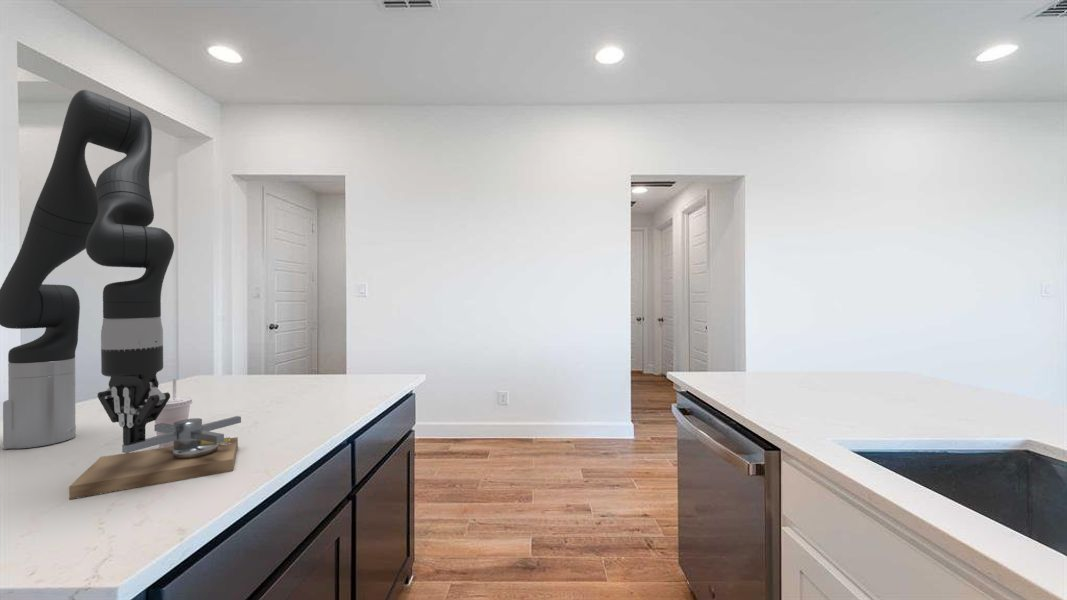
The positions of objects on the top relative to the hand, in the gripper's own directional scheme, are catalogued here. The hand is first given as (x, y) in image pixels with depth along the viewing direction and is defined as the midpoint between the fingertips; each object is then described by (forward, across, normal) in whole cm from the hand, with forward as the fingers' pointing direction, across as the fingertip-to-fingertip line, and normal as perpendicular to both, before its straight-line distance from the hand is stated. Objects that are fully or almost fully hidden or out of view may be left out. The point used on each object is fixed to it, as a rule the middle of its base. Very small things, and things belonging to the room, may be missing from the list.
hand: (134, 447), depth 71 cm
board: (+5, -1, -4) cm, 7 cm away
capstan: (+3, -3, -6) cm, 8 cm away
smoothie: (+6, +9, -12) cm, 16 cm away
